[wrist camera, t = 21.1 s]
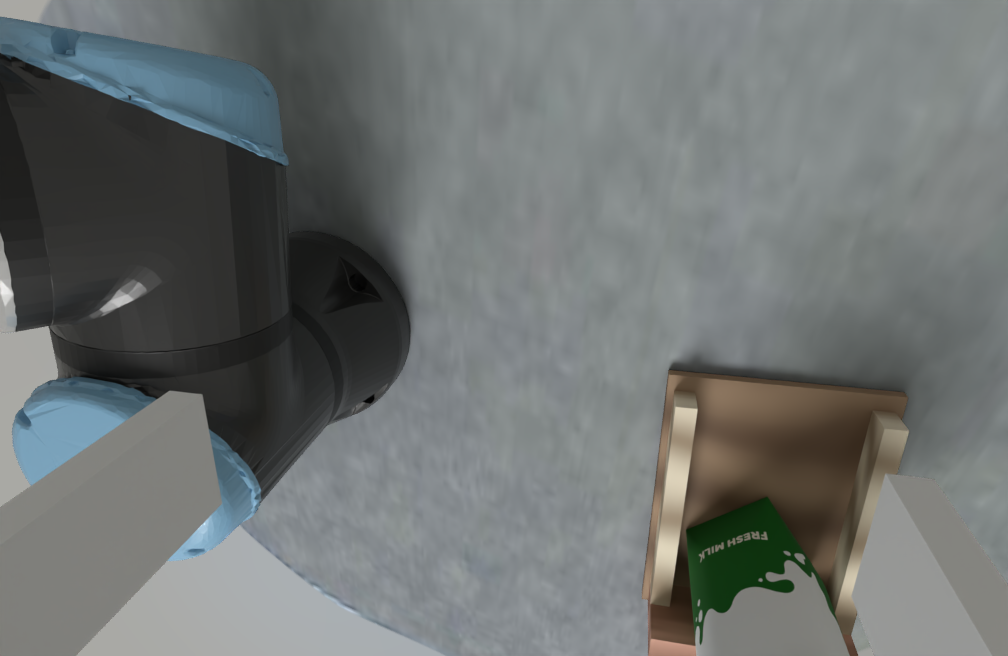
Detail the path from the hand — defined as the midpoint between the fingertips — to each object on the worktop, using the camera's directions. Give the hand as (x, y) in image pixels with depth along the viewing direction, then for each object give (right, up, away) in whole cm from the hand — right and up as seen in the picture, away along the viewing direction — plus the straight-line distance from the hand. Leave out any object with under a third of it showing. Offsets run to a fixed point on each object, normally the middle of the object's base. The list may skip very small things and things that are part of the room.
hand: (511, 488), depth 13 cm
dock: (+20, -10, +38) cm, 44 cm away
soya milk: (+19, -14, +39) cm, 46 cm away
